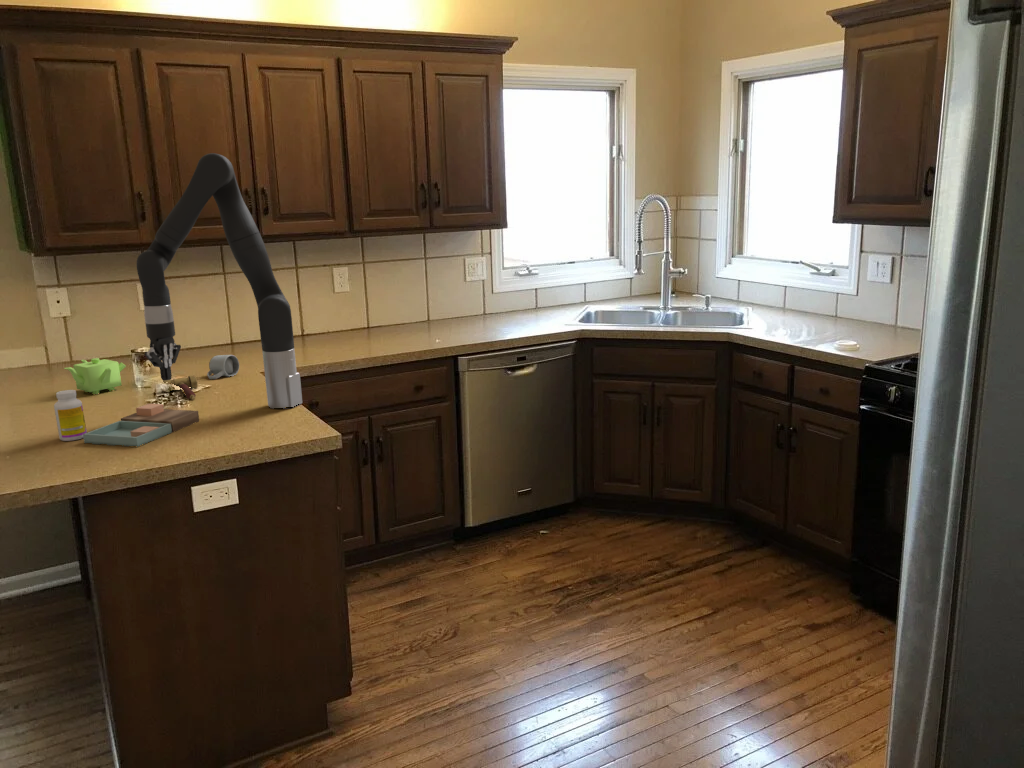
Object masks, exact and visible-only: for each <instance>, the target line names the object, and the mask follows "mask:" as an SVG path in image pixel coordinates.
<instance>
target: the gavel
mask: <svg viewBox="0 0 1024 768" xmlns="http://www.w3.org/2000/svg"><path fill="white" fill-rule="evenodd" d="M163 382H164V383H166V382H169V383H172V384H174V385H176V386H179V387H180V388H182V389H183V390H184V392H185V394H186V396H187V397H186V396H185V397H186V399H188V398H189V399H188V400H192V401H193V400H195V399H196V393H195V392H194V391H193V389H191V388H195V389H198V385H199V384H198V380H197V377H196V375H195V374H194V375H189V376H188V377H180V378H174V379H170V380H167V381H166V380H162V383H163ZM189 387H191V388H189Z"/></svg>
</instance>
